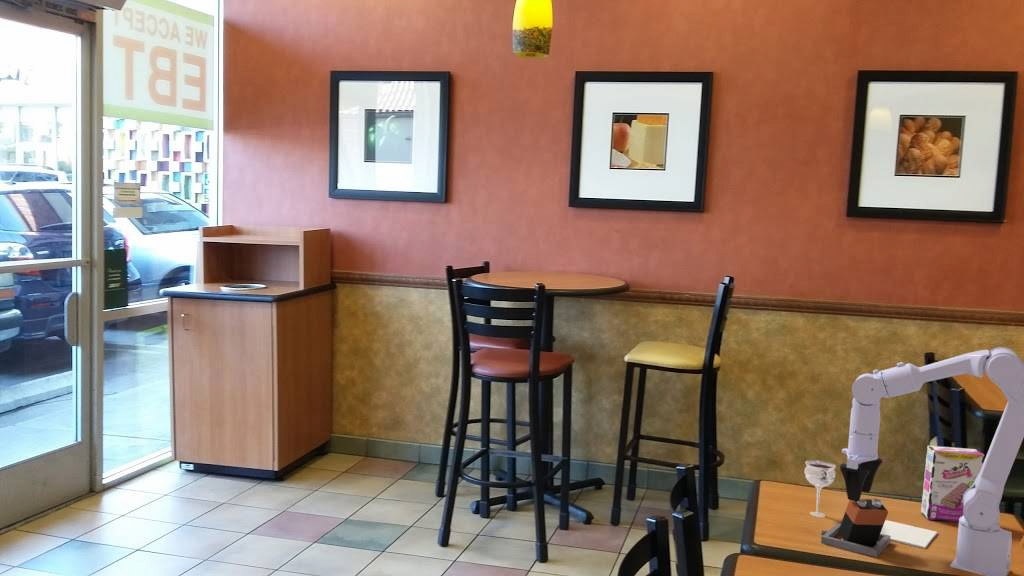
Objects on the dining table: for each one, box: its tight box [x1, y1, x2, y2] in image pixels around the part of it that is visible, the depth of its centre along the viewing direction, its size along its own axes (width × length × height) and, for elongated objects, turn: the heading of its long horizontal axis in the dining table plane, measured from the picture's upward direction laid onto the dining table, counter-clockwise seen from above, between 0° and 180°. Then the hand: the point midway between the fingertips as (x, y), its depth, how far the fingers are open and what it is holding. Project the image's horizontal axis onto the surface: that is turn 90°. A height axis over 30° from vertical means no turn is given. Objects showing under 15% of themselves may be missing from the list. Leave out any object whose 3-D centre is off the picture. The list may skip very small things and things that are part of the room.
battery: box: [838, 497, 889, 547], centre depth 183 cm, size 4×7×10 cm, turn 98°
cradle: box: [820, 523, 891, 558], centre depth 186 cm, size 12×11×2 cm
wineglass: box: [803, 459, 837, 518], centre depth 202 cm, size 7×7×12 cm
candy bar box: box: [920, 445, 985, 523], centre depth 203 cm, size 11×5×16 cm, turn 84°
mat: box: [881, 519, 938, 549], centre depth 192 cm, size 12×12×1 cm
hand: (858, 495), depth 185 cm, fingers open, 7 cm apart
